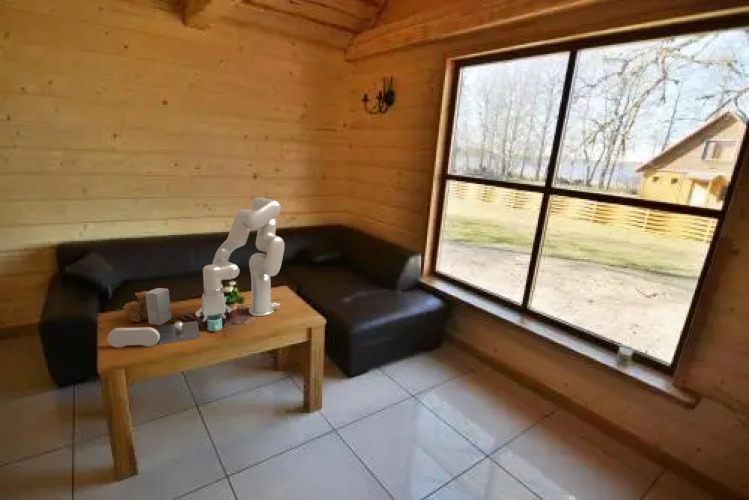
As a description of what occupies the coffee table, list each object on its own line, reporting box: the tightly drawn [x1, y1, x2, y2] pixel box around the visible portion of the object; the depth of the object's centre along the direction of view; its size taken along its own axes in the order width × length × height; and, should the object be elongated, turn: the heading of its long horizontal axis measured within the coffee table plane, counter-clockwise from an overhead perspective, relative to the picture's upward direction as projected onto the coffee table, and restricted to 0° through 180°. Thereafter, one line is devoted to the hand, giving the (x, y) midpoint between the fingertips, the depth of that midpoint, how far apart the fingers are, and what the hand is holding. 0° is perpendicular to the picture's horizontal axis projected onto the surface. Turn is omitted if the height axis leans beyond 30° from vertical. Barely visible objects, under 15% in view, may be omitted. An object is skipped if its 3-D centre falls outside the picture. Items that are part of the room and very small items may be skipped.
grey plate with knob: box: [158, 320, 201, 345], centre depth 174 cm, size 16×16×5 cm
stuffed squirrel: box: [122, 290, 148, 323], centre depth 184 cm, size 10×14×13 cm
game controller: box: [106, 326, 160, 348], centre depth 161 cm, size 20×2×8 cm, turn 100°
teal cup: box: [206, 314, 224, 332], centre depth 180 cm, size 7×9×5 cm
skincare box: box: [145, 287, 172, 326], centre depth 182 cm, size 8×7×16 cm
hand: (214, 326), depth 181 cm, fingers closed on teal cup, 6 cm apart
